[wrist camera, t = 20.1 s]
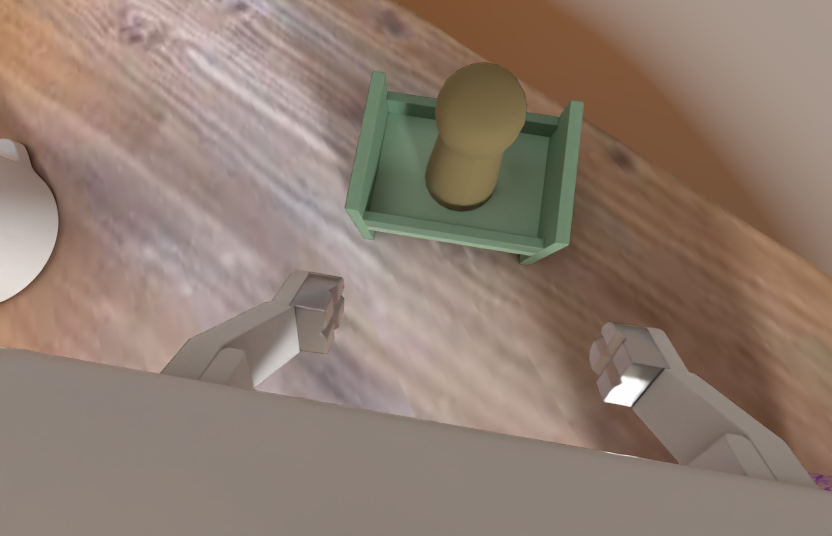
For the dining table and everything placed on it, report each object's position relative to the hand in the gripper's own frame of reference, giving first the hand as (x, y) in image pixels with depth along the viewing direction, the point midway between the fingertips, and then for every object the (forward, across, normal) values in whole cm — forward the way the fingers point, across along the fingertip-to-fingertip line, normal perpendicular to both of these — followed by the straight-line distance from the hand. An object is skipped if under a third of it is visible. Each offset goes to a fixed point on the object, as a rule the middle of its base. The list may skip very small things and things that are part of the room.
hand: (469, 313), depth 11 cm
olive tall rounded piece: (+21, 0, +4) cm, 21 cm away
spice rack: (+24, 0, +7) cm, 25 cm away
